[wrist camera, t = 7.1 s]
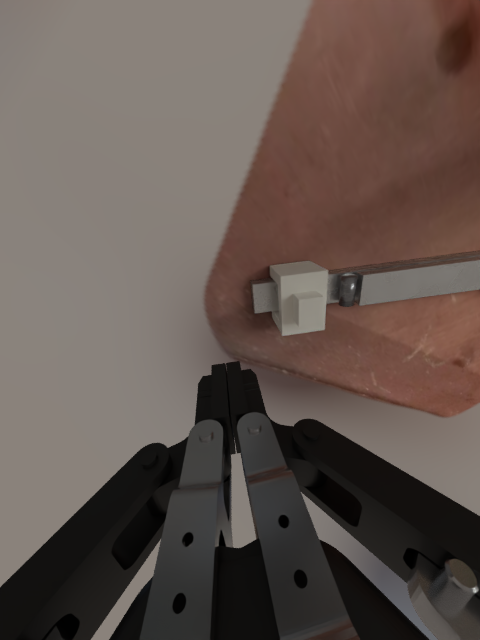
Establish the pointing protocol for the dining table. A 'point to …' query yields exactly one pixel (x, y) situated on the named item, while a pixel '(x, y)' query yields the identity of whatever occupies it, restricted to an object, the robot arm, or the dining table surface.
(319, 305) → the lock slider
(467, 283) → the bar
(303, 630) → the robot arm
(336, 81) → the dining table surface
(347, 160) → the dining table surface
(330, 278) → the base
